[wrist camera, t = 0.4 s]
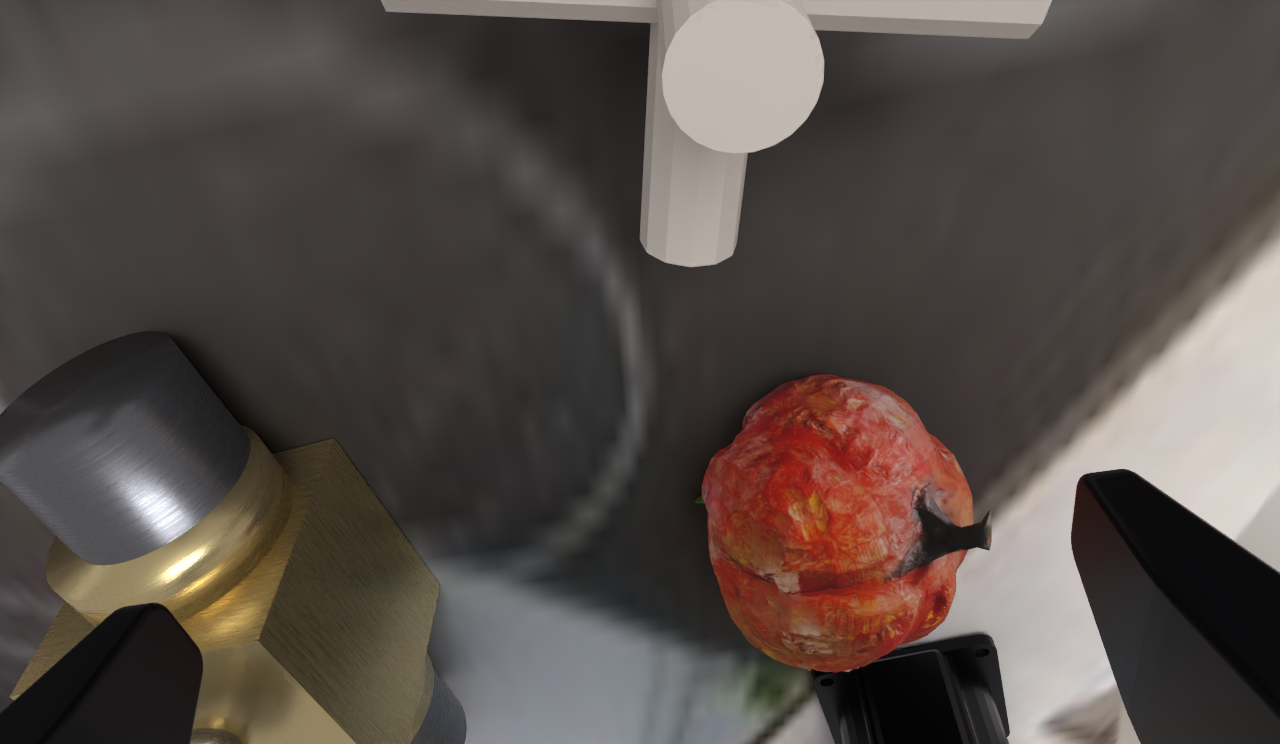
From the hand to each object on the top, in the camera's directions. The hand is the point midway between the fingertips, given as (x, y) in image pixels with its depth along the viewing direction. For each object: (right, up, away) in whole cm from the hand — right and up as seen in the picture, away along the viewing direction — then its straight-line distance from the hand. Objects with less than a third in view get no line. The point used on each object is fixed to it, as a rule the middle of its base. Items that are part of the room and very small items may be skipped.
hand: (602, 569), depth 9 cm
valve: (-11, -4, +21) cm, 24 cm away
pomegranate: (+5, 0, +18) cm, 19 cm away
